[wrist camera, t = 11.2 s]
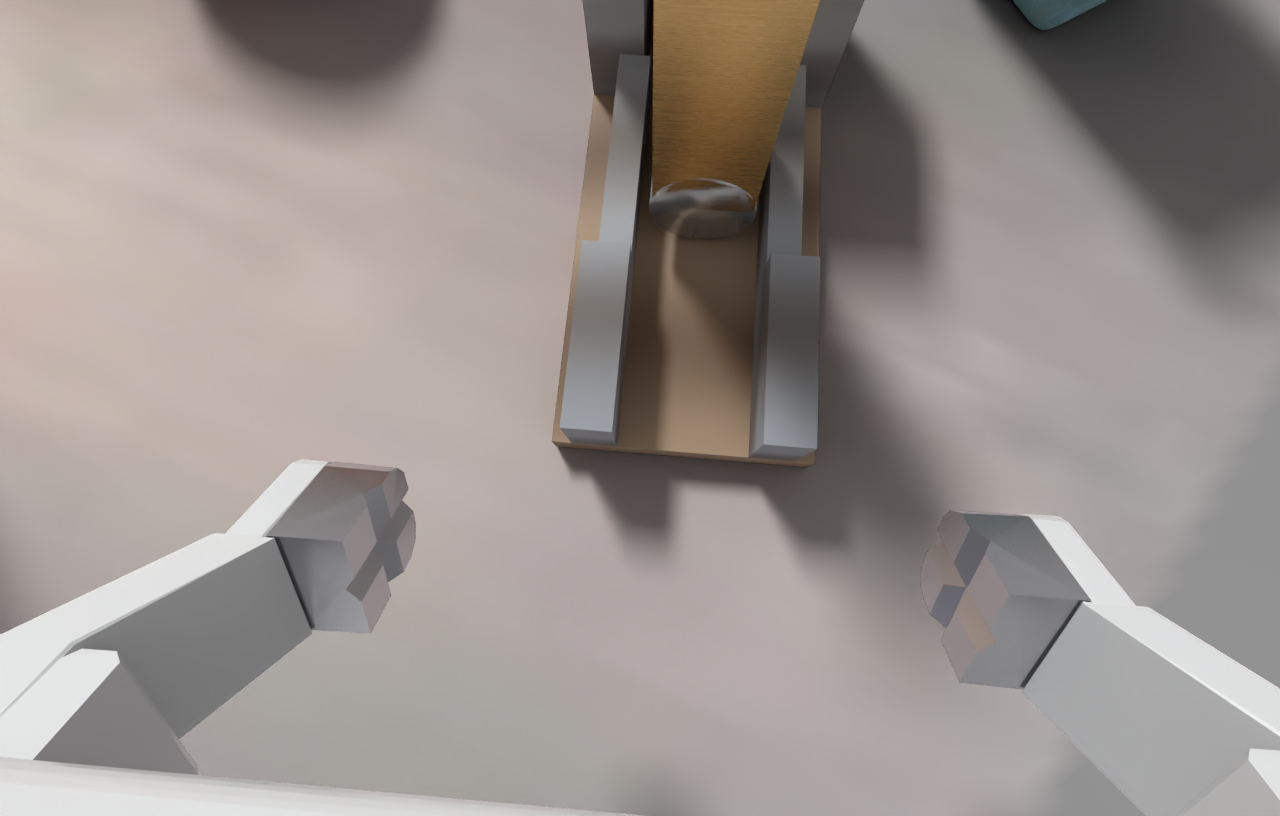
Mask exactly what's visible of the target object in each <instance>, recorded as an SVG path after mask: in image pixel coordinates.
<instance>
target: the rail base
mask: <svg viewBox="0 0 1280 816" xmlns="http://www.w3.org/2000/svg"><path fill="white" fill-rule="evenodd" d="M863 2H864V0H820V2H819V5H818V8H817V11H816V15H815V18H814V21H813V24H812V27H811V30H810V34H809V37H808V40H807V43H806V46H805V49H804V53H803V56H802V59H801V62H800V65H799V69H798V72H797V75H796V78H795V81H794V84H793V88H792V91H791V94H790V97H789V100H788V104H787V107H786V110H785V113H784V116H783V119H782V123H781V126H780V129H779V132H778V135H777V139H776V142H775V145H774V148H773V151H772V154H771V158H770V161H769V164H768V167H767V170H766V173H765V177H764V180H763V183H762V186H761V189H760V193H759V196H758V199H757V212H756V216H755V218H754V220H753V221H752V223H751V224H750V225H749V226H747V227H746V228H745V229H743V230H741V231H739V232H737V233H735V234H732V235H729V236H725V237H720V238H712V239H697V238H689V237H684V236H680V235H677V234H674V233H671V232H669V231H667V230H665V229H663V228H662V227H660V226H659V225H658V224H657V223H656V222H655V221H654V220H653V219H652V217H651V215H650V212H649V200H650V189H651V178H652V158H653V36H654V0H583V8H584V16H585V24H586V32H587V40H588V48H589V56H590V65H591V73H592V81H593V89H594V99H593V107H592V115H591V123H590V132H589V140H588V148H587V156H586V165H585V173H584V181H583V189H582V197H581V206H580V214H579V222H578V230H577V239H576V247H575V255H574V263H573V271H572V280H571V288H570V296H569V304H568V313H567V321H566V329H565V337H564V345H563V354H562V362H561V370H560V378H559V386H558V395H557V403H556V411H555V419H554V428H553V436H552V442H553V443H554V444H555V445H556V446H557V447H569V448H581V449H593V450H605V451H617V452H629V453H641V454H653V455H666V456H678V457H690V458H702V459H714V460H726V461H738V462H750V463H762V464H774V465H786V466H798V467H808V466H810V465H812V464H814V463H815V450H816V449H817V433H818V378H819V323H820V268H821V257H819V221H820V168H821V115H822V106H823V103H824V101H825V98H826V96H827V93H828V91H829V88H830V86H831V83H832V81H833V78H834V76H835V73H836V70H837V68H838V65H839V63H840V60H841V58H842V55H843V53H844V50H845V48H846V45H847V43H848V40H849V38H850V35H851V33H852V30H853V28H854V25H855V23H856V20H857V17H858V15H859V12H860V10H861V7H862V5H863Z"/></svg>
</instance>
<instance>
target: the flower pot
mask: <svg viewBox="0 0 1280 816" xmlns="http://www.w3.org/2000/svg"><path fill="white" fill-rule="evenodd" d="M1106 1H1108V0H1013V2H1014V3H1015V4H1016V5H1017V6H1018V8H1019V9H1020V10H1021V11H1022V13H1023V14H1024V15H1025V17H1026V18H1027V19H1028V20H1029V21H1030V22H1031V24H1032V25H1034V26H1035V27H1036V28H1038V29H1041V30H1047V29H1051V28H1054V27H1056V26H1058V25H1060V24H1062V23H1064V22H1066V21H1068V20H1070V19H1072V18H1074V17H1076V16H1078V15H1080V14H1082V13H1084V12H1086V11H1088V10H1090V9H1092V8H1094V7H1096V6H1098V5H1100V4H1102V3H1104V2H1106Z"/></svg>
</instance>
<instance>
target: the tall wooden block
mask: <svg viewBox="0 0 1280 816" xmlns="http://www.w3.org/2000/svg"><path fill="white" fill-rule="evenodd" d="M819 2H820V0H654V36H653V158H652V178H651V189H650V200H649V212H650V215H651V217H652V219H653V220H654V221H655V222H656V223H657V224H658V225H659V226H660V227H662V228H663V229H665V230H667V231H669V232H671V233H674V234H677V235H680V236H684V237H689V238H697V239H712V238H720V237H725V236H729V235H732V234H735V233H737V232H739V231H741V230H743V229H745V228H746V227H747V226H749V225H750V224H751V223H752V221H753V220H754V218H755V216H756V212H757V199H758V196H759V193H760V189H761V186H762V183H763V180H764V177H765V173H766V170H767V167H768V164H769V161H770V158H771V154H772V151H773V148H774V145H775V142H776V139H777V135H778V132H779V129H780V126H781V123H782V119H783V116H784V113H785V110H786V107H787V104H788V100H789V97H790V94H791V91H792V88H793V84H794V81H795V78H796V75H797V72H798V69H799V65H800V62H801V59H802V56H803V53H804V49H805V46H806V43H807V40H808V37H809V34H810V30H811V27H812V24H813V21H814V18H815V15H816V11H817V8H818V5H819Z"/></svg>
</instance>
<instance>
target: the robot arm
mask: <svg viewBox="0 0 1280 816" xmlns="http://www.w3.org/2000/svg"><path fill="white" fill-rule="evenodd" d="M407 491H408V485H407V482H406V478H405V474H404V472H403V471H401V470H400V469H398V468H393V467H382V466H372V465H362V464H352V463H342V462H326V461H316V460H305V459H301V460H298V461H296V462H293V463H291V464H290V465H289V466H288V467H287V468H286V469H285V470H284V472H283V473H282V474H281V475H280V476H279V477H278V478H277V479H276V480H275V481H274V482H273V483H272V484H271V485H270V486H269V488H268V489H267V490H266V491H265V492H264V493H263V494H262V495H261V496H260V497H259V498H258V499H257V500H256V501H255V502H254V504H253V505H252V506H251V507H250V508H249V509H248V510H247V511H246V512H245V513H244V514H243V515H242V516H241V517H240V518H239V520H238V521H237V522H236V523H235V524H234V525H233V526H232V527H231V528H230V529H229V530H228V531H227V532H226V533H225V534H219V533H213V534H211V535H209V536H207V537H205V538H203V539H201V540H198V541H196V542H194V543H192V544H190V545H188V546H186V547H184V548H182V549H180V550H177V551H175V552H173V553H171V554H169V555H167V556H165V557H163V558H161V559H158V560H156V561H154V562H152V563H150V564H148V565H146V566H144V567H142V568H139V569H137V570H135V571H133V572H131V573H129V574H127V575H125V576H123V577H120V578H118V579H116V580H114V581H112V582H110V583H108V584H106V585H104V586H102V587H99V588H97V589H95V590H93V591H91V592H89V593H87V594H85V595H83V596H80V597H78V598H76V599H74V600H72V601H70V602H68V603H66V604H64V605H61V606H59V607H57V608H55V609H53V610H51V611H49V612H47V613H45V614H42V615H40V616H38V617H36V618H34V619H32V620H30V621H28V622H26V623H24V624H21V625H19V626H17V627H15V628H13V629H11V630H9V631H7V632H5V633H2V634H0V816H645V815H634V814H623V813H612V812H601V811H590V810H579V809H568V808H557V807H546V806H535V805H524V804H513V803H502V802H491V801H480V800H469V799H458V798H447V797H436V796H425V795H414V794H403V793H392V792H381V791H370V790H359V789H348V788H336V787H325V786H314V785H303V784H292V783H281V782H270V781H259V780H248V779H237V778H226V777H215V776H204V775H199V774H198V768H197V764H196V762H195V761H194V760H193V758H192V757H191V755H190V754H189V753H188V751H187V750H186V748H185V747H184V745H183V744H182V743H181V741H180V740H179V739H180V738H181V737H182V736H184V735H185V734H186V733H187V732H189V731H190V730H191V729H192V728H194V727H195V726H196V725H197V724H199V723H200V722H201V721H202V720H204V719H205V718H206V717H208V716H209V715H210V714H211V713H213V712H214V711H215V710H216V709H218V708H219V707H220V706H221V705H223V704H224V703H225V702H226V701H228V700H229V699H230V698H231V697H233V696H234V695H235V694H236V693H238V692H239V691H240V690H241V689H243V688H244V687H245V686H247V685H248V684H249V683H250V682H252V681H253V680H254V679H255V678H257V677H258V676H259V675H260V674H262V673H263V672H264V671H265V670H267V669H268V668H269V667H270V666H272V665H273V664H274V663H275V662H277V661H278V660H279V659H280V658H282V657H283V656H284V655H286V654H287V653H288V652H289V651H291V650H292V649H293V648H294V647H296V646H297V645H298V644H299V643H301V642H302V641H303V640H304V639H306V638H307V637H308V636H309V635H311V634H312V631H311V630H321V631H339V632H358V633H372V631H373V629H374V627H375V625H376V623H377V621H378V619H379V618H380V616H381V614H382V612H383V610H384V608H385V606H386V604H387V603H388V601H389V599H390V597H391V593H390V589H389V585H388V582H389V581H391V580H392V579H394V578H395V577H397V576H398V575H400V574H401V573H403V572H404V570H405V568H406V566H407V564H408V562H409V560H410V558H411V556H412V551H413V547H414V543H415V539H416V522H415V517H414V512H413V511H412V510H411V509H410V508H409V507H408V506H407V505H406V504H405V503H404V502H403V501H402V499H403V498H404V496H405V494H406V493H407ZM937 530H938V532H939V534H940V536H941V538H942V540H943V541H942V542H941V543H939V544H938V545H936V546H935V547H933V548H932V549H930V550H929V551H928V552H927V554H926V557H925V559H924V562H923V565H922V567H921V589H922V594H923V599H924V602H925V604H926V606H927V609H928V611H929V614H930V615H931V616H933V617H934V618H935V619H936V620H937V621H938V622H940V623H941V624H942V625H943V626H944V627H945V628H946V629H945V632H944V634H943V637H942V639H941V642H942V644H943V646H944V648H945V651H946V653H947V655H948V658H949V660H950V662H951V664H952V667H953V669H954V671H955V673H956V676H957V678H958V680H959V682H960V683H969V684H978V685H987V686H996V687H1006V688H1015V689H1023V691H1022V693H1023V694H1024V695H1025V696H1026V697H1027V698H1028V699H1029V700H1030V701H1031V702H1032V703H1033V704H1034V705H1035V706H1036V707H1037V708H1038V709H1039V710H1040V711H1041V712H1042V713H1043V714H1044V715H1045V716H1046V717H1047V718H1048V719H1049V720H1050V721H1051V722H1052V723H1053V724H1054V725H1055V726H1056V727H1057V728H1058V729H1059V730H1060V731H1061V732H1062V733H1063V734H1064V735H1065V736H1066V737H1067V738H1068V739H1069V740H1070V741H1071V742H1072V743H1073V744H1074V745H1075V746H1076V747H1077V748H1078V749H1079V750H1080V751H1081V752H1082V753H1083V754H1084V755H1085V756H1086V757H1087V758H1088V759H1089V760H1090V761H1091V762H1092V763H1093V764H1094V765H1095V766H1096V767H1097V768H1098V769H1099V770H1100V771H1101V772H1102V773H1103V774H1104V775H1105V776H1106V777H1107V778H1108V779H1109V780H1110V781H1111V782H1112V783H1113V784H1114V785H1115V786H1116V787H1117V788H1118V789H1119V790H1120V791H1121V792H1122V793H1123V794H1124V795H1125V796H1126V797H1127V798H1128V799H1129V800H1130V801H1131V802H1132V803H1134V805H1135V806H1136V807H1137V808H1138V809H1139V810H1140V811H1141V812H1142V813H1143V814H1144V815H1145V816H1280V688H1278V687H1276V686H1275V685H1273V684H1271V683H1270V682H1268V681H1267V680H1265V679H1263V678H1262V677H1260V676H1258V675H1257V674H1255V673H1254V672H1252V671H1250V670H1249V669H1247V668H1246V667H1244V666H1242V665H1241V664H1239V663H1238V662H1236V661H1234V660H1233V659H1231V658H1229V657H1228V656H1226V655H1225V654H1223V653H1221V652H1220V651H1218V650H1217V649H1215V648H1213V647H1212V646H1210V645H1208V644H1207V643H1205V642H1204V641H1202V640H1200V639H1199V638H1197V637H1195V636H1194V635H1192V634H1190V633H1189V632H1187V631H1186V630H1184V629H1183V628H1181V627H1179V626H1178V625H1176V624H1175V623H1173V622H1171V621H1170V620H1168V619H1167V618H1165V617H1163V616H1161V615H1160V614H1158V613H1157V612H1155V611H1154V610H1152V609H1150V608H1149V607H1141V606H1136V605H1135V604H1134V603H1133V602H1132V600H1131V599H1130V598H1129V597H1128V595H1127V594H1126V593H1125V592H1124V590H1123V589H1122V588H1121V587H1120V586H1119V584H1118V583H1117V582H1116V581H1115V579H1114V578H1113V577H1112V576H1111V574H1110V573H1109V572H1108V571H1107V569H1106V568H1105V567H1104V566H1103V565H1102V563H1101V562H1100V561H1099V560H1098V558H1097V557H1096V556H1095V555H1094V553H1093V552H1092V551H1091V550H1090V549H1089V547H1088V546H1087V545H1086V544H1085V542H1084V541H1083V540H1082V539H1081V537H1080V536H1079V535H1078V534H1077V532H1076V531H1075V530H1074V529H1073V528H1072V526H1071V525H1070V524H1069V523H1068V522H1067V521H1065V520H1064V519H1062V518H1060V517H1058V516H1049V515H1031V514H1020V515H1016V514H1003V513H989V512H974V511H960V510H950V511H949V512H948V513H946V514H945V515H944V516H943V518H942V520H941V522H940V524H939V526H938V529H937Z"/></svg>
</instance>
